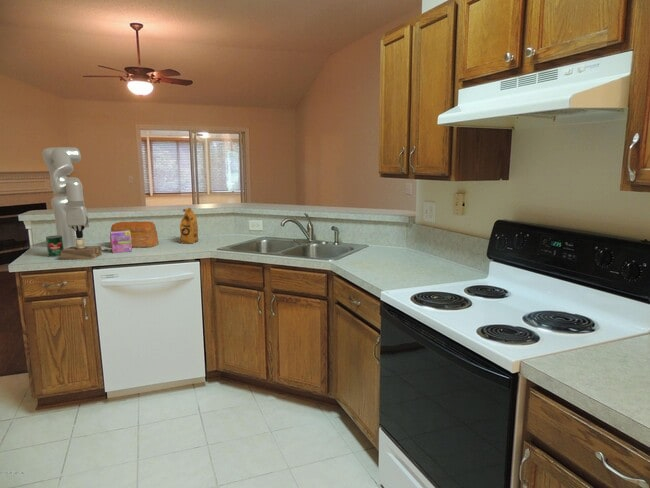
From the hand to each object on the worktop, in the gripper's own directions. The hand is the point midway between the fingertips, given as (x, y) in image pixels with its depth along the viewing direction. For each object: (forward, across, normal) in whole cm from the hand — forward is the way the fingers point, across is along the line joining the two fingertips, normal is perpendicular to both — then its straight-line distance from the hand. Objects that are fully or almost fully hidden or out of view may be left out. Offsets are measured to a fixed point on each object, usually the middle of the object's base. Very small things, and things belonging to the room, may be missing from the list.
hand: (79, 237), depth 248 cm
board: (+11, 0, 0) cm, 11 cm away
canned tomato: (+11, -17, +6) cm, 21 cm away
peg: (+11, 0, 0) cm, 11 cm away
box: (+11, +16, +15) cm, 24 cm away
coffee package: (+11, +48, +42) cm, 64 cm away
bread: (+11, +16, +33) cm, 38 cm away
